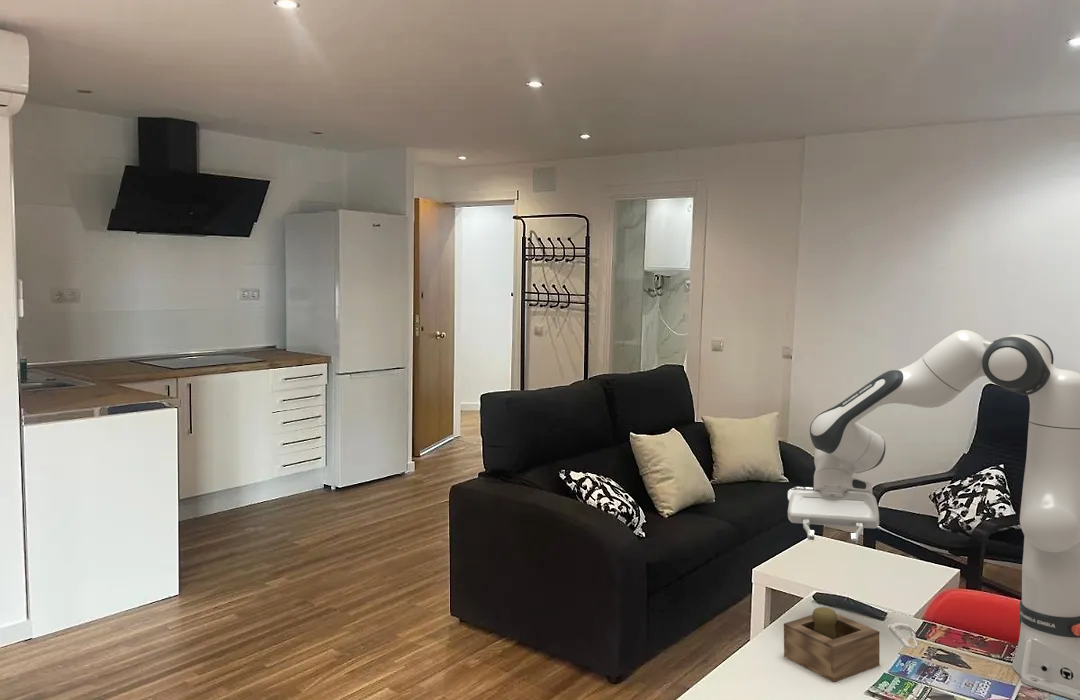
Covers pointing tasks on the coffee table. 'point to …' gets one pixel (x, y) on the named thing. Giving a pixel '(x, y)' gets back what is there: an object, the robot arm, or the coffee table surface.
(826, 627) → the cork
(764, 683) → the coffee table surface
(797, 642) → the walnut box
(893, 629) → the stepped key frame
